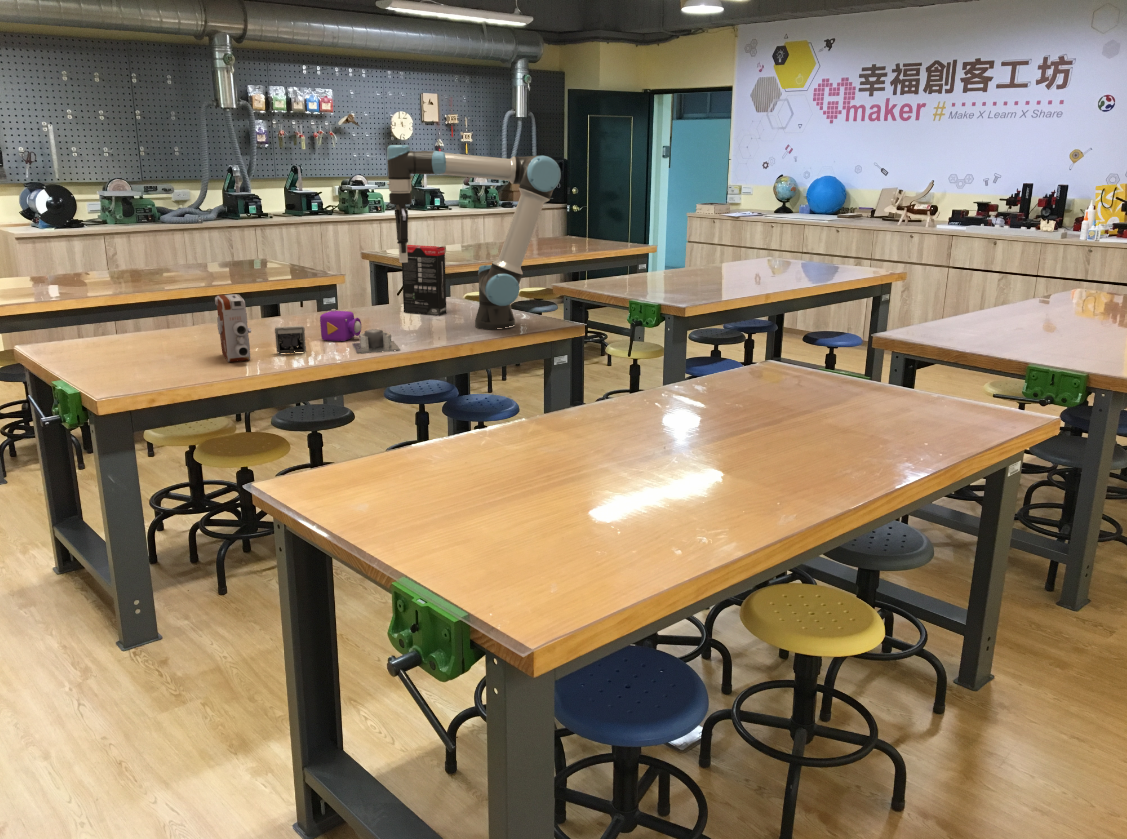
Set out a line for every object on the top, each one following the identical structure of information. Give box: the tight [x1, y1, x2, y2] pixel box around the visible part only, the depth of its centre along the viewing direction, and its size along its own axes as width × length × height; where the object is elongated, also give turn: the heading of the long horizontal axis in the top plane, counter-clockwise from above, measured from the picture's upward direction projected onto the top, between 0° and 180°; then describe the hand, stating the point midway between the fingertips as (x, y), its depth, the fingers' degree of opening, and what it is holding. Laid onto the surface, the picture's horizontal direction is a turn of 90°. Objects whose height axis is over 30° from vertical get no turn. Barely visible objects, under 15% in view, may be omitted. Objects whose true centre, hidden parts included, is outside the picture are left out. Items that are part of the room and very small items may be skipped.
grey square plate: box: [351, 331, 401, 354], centre depth 303 cm, size 14×14×5 cm
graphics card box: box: [401, 244, 447, 316], centre depth 363 cm, size 17×7×27 cm, turn 69°
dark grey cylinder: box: [364, 328, 384, 348], centre depth 303 cm, size 6×6×5 cm
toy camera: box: [319, 308, 362, 342], centre depth 316 cm, size 11×14×10 cm
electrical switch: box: [274, 325, 307, 355], centre depth 294 cm, size 9×5×9 cm, turn 107°
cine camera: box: [214, 293, 252, 363], centre depth 284 cm, size 9×19×20 cm, turn 27°
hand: (403, 262), depth 314 cm, fingers closed
